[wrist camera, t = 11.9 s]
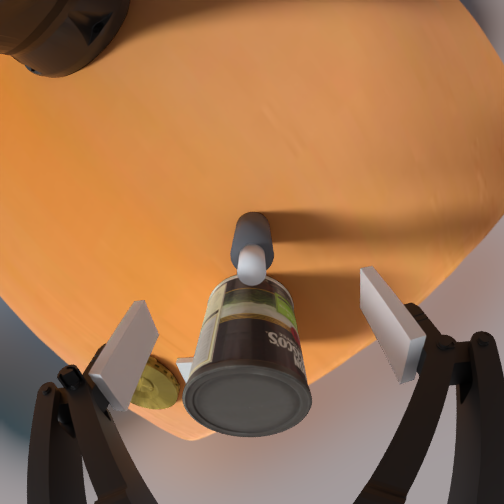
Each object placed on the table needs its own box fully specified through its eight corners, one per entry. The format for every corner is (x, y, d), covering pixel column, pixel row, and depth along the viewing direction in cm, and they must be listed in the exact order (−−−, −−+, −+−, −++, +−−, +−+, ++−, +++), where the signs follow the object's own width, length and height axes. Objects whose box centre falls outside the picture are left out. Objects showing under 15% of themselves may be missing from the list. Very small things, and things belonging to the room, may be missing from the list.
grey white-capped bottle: (233, 215, 28) (222, 254, 19) (266, 209, 28) (272, 246, 18) (239, 246, 29) (232, 297, 20) (271, 240, 29) (279, 290, 20)
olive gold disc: (148, 341, 35) (144, 351, 33) (194, 393, 39) (192, 403, 37) (96, 358, 37) (91, 366, 35) (141, 403, 41) (137, 412, 39)
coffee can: (267, 256, 30) (276, 346, 17) (307, 323, 33) (329, 417, 20) (189, 295, 32) (155, 388, 19) (235, 353, 35) (228, 445, 22)
